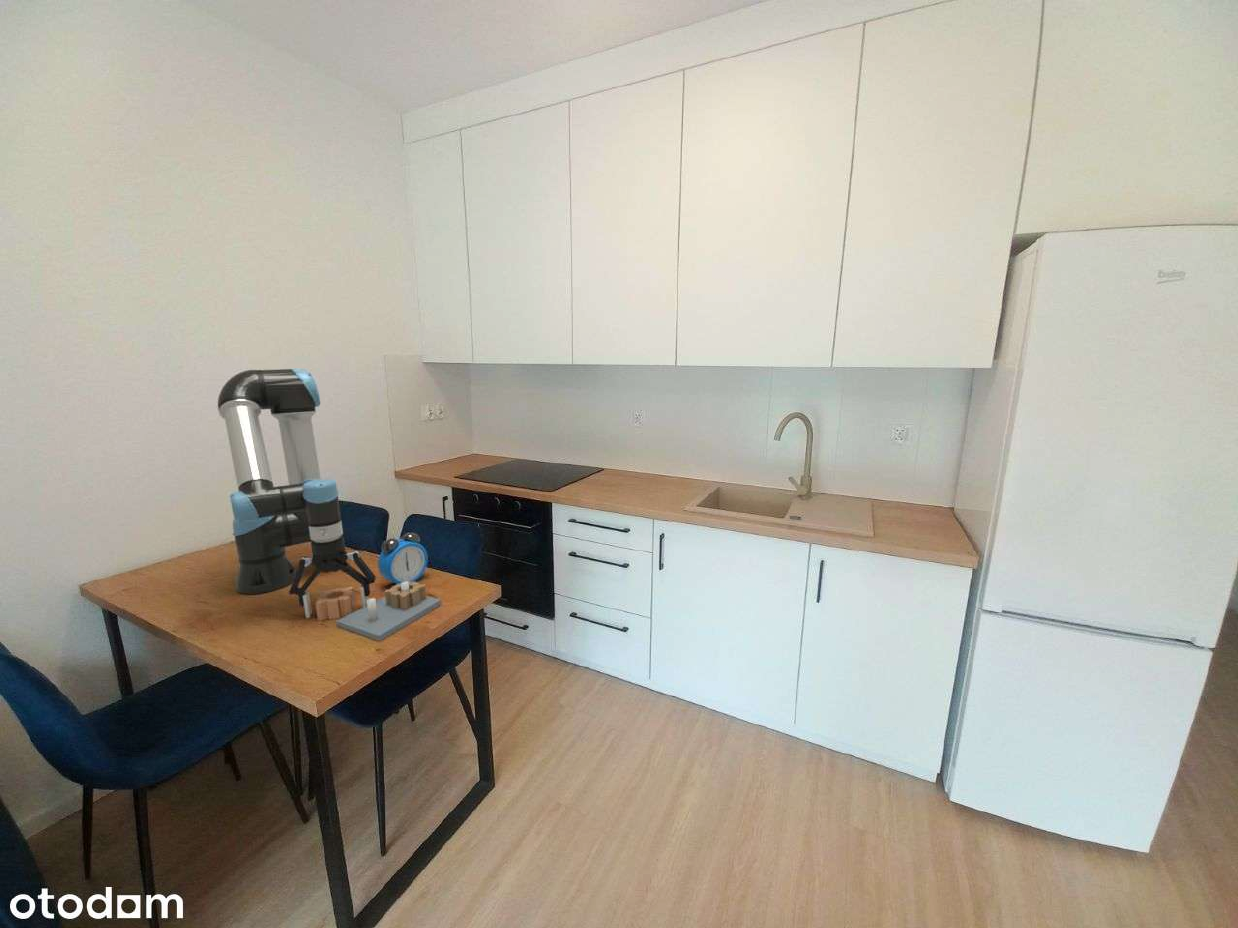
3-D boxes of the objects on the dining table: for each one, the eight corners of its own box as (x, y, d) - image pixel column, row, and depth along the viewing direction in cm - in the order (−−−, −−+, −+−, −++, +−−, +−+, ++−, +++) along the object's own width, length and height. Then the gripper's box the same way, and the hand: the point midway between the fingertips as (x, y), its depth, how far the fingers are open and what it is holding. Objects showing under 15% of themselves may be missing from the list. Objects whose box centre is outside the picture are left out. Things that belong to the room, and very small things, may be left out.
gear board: (337, 626, 127) (333, 601, 125) (400, 593, 144) (398, 571, 143) (379, 641, 120) (376, 615, 118) (441, 604, 137) (439, 581, 136)
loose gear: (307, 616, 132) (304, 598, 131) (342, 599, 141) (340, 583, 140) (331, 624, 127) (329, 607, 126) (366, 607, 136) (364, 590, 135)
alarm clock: (390, 592, 145) (384, 544, 141) (379, 586, 148) (374, 540, 145) (430, 576, 155) (425, 531, 152) (419, 571, 159) (414, 527, 155)
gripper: (267, 549, 122) (280, 626, 126) (377, 536, 130) (386, 609, 134) (276, 539, 129) (288, 612, 133) (380, 527, 137) (389, 597, 141)
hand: (337, 611), depth 134 cm, fingers open, 13 cm apart
